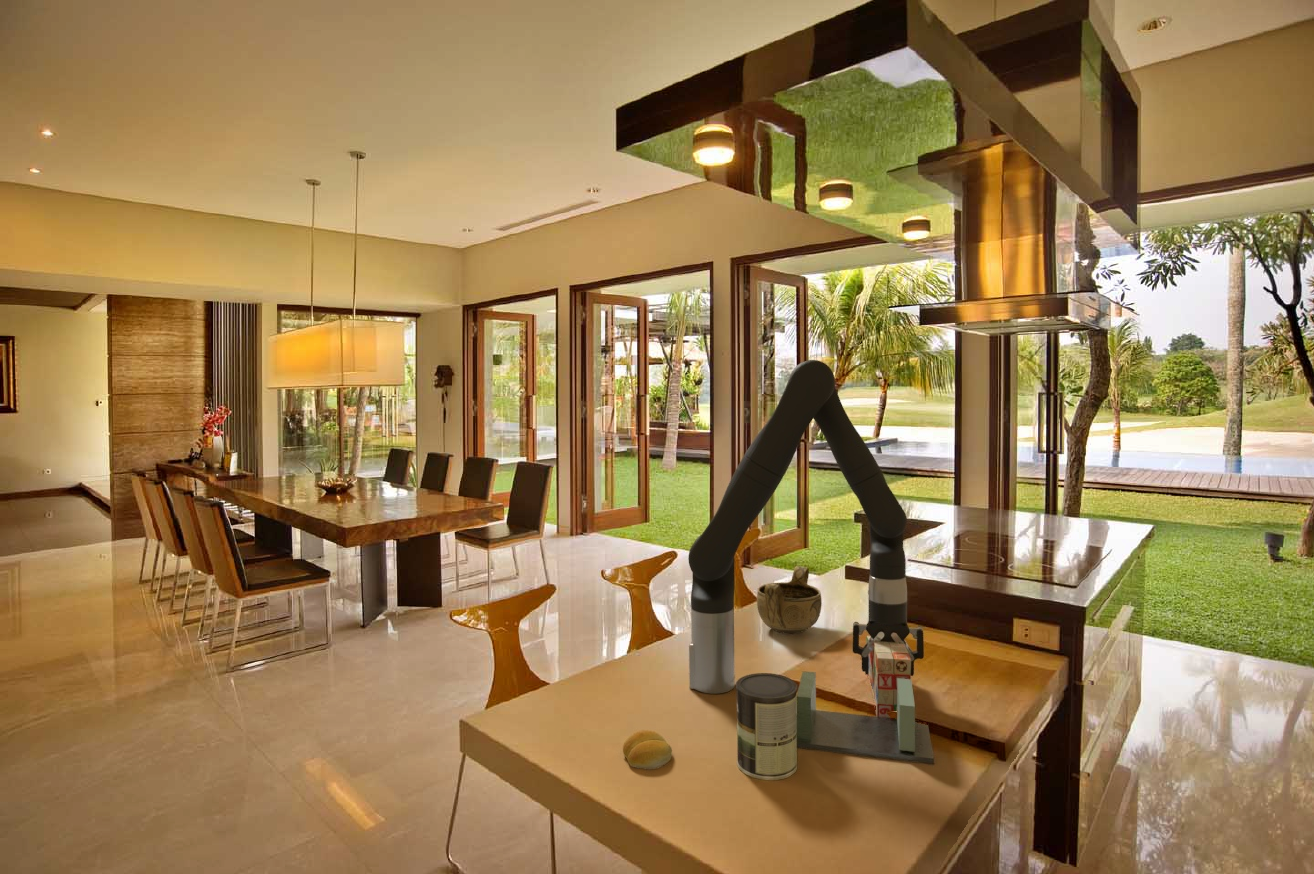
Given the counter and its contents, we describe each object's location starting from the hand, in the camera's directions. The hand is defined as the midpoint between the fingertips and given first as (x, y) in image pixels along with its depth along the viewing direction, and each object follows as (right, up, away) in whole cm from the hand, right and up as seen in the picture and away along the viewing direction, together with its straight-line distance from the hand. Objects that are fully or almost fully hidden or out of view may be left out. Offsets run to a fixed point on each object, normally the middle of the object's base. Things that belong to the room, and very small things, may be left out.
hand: (887, 675), depth 149 cm
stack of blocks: (0, -5, +1) cm, 5 cm away
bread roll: (-49, -7, -22) cm, 55 cm away
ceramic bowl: (-13, -2, +43) cm, 44 cm away
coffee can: (-29, -7, -26) cm, 39 cm away
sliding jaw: (-3, -5, -19) cm, 19 cm away
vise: (-10, -6, -16) cm, 20 cm away
